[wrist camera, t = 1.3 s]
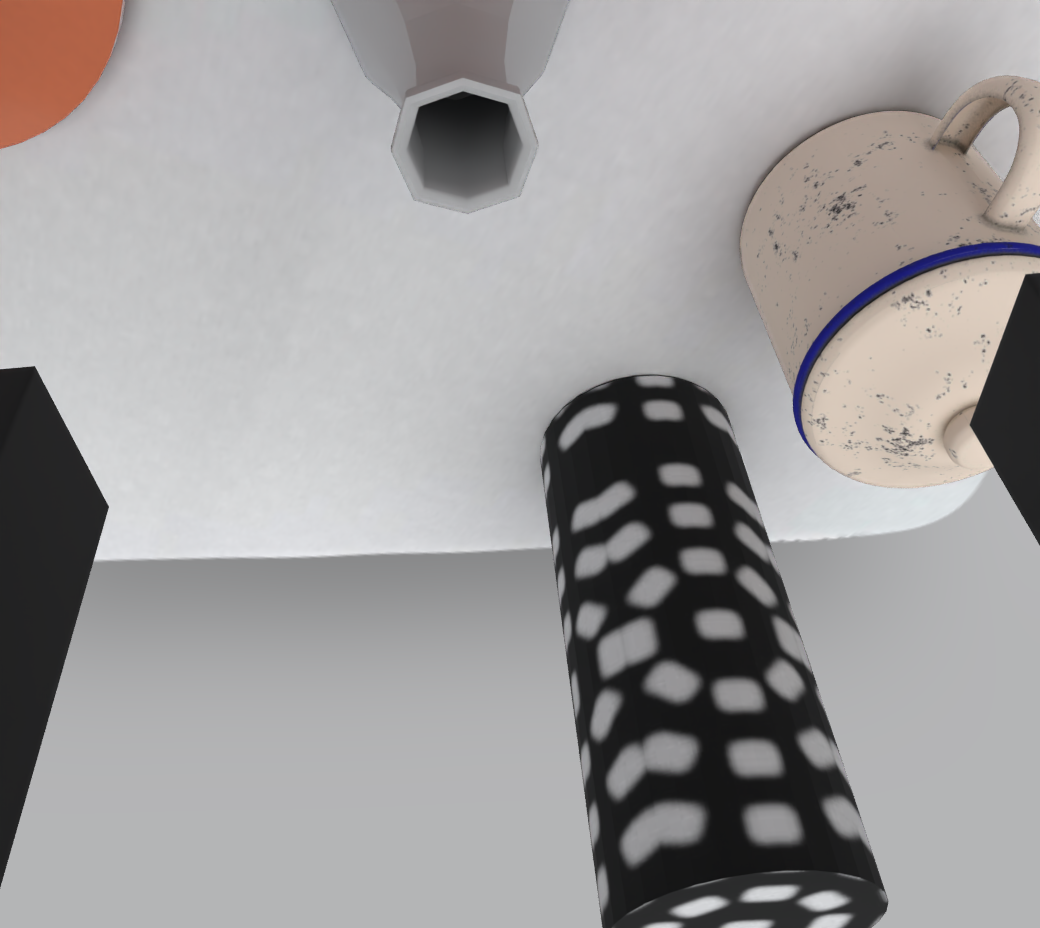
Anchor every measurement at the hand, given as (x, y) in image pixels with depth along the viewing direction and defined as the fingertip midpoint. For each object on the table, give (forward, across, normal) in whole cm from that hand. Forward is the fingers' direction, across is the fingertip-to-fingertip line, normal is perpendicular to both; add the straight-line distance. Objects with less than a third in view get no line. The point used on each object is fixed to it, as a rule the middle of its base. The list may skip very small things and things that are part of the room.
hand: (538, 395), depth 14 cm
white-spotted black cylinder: (+20, +5, -21) cm, 30 cm away
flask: (+20, -1, -1) cm, 20 cm away
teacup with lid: (+20, +13, -9) cm, 26 cm away
